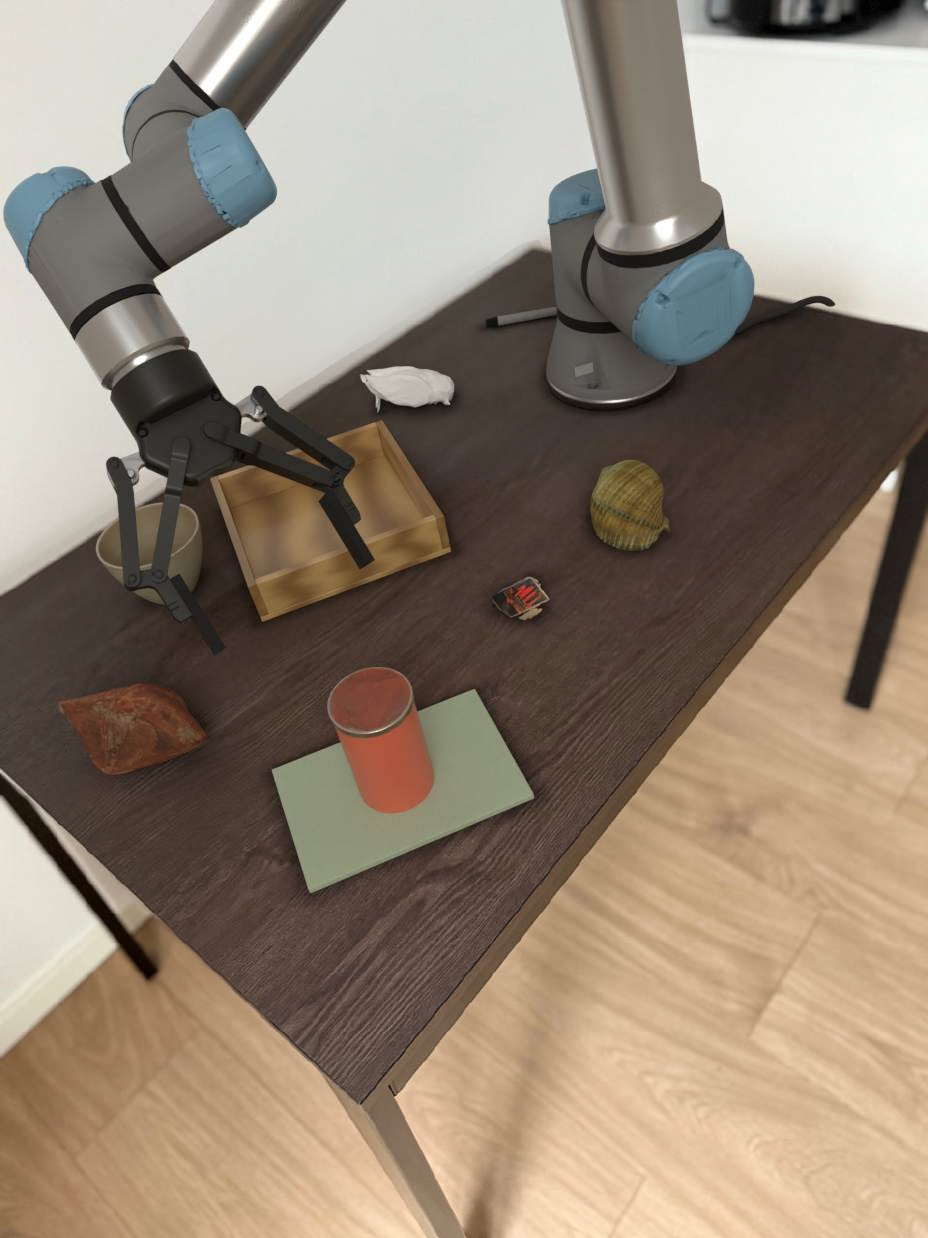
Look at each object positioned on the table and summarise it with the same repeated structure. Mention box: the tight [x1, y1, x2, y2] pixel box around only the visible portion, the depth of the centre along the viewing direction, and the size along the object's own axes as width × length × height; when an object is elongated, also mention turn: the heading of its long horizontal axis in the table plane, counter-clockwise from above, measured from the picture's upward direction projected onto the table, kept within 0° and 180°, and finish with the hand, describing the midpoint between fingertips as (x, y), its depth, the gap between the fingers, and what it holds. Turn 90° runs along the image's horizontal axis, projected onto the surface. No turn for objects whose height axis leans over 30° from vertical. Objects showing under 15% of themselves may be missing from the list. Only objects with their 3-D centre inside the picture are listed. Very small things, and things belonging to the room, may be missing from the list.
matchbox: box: [490, 576, 550, 621], centre depth 88 cm, size 5×5×1 cm
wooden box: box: [209, 419, 452, 623], centre depth 98 cm, size 20×20×5 cm
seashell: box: [589, 459, 671, 552], centre depth 92 cm, size 10×7×8 cm
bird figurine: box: [359, 365, 455, 413], centre depth 113 cm, size 5×7×10 cm
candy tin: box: [326, 666, 434, 813], centre depth 71 cm, size 6×6×10 cm
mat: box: [271, 688, 535, 894], centre depth 75 cm, size 18×12×1 cm, turn 112°
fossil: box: [57, 682, 209, 776], centre depth 79 cm, size 13×8×10 cm
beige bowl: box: [95, 502, 204, 606], centre depth 94 cm, size 10×10×7 cm
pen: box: [485, 306, 557, 328], centre depth 125 cm, size 1×16×1 cm, turn 95°
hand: (296, 607), depth 75 cm, fingers open, 13 cm apart
